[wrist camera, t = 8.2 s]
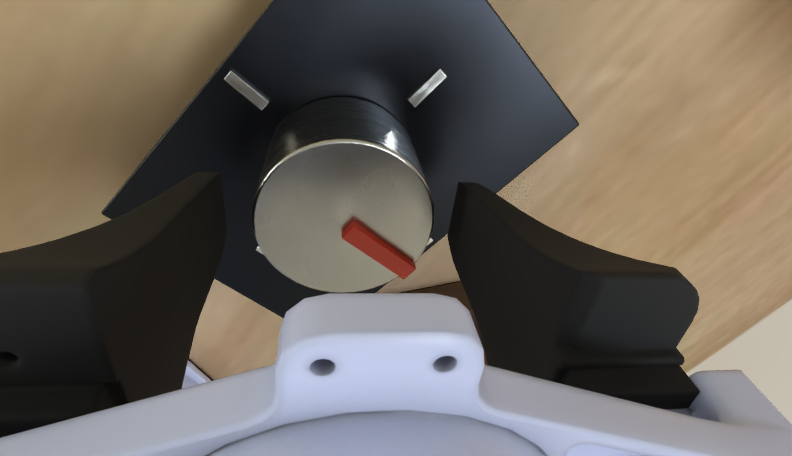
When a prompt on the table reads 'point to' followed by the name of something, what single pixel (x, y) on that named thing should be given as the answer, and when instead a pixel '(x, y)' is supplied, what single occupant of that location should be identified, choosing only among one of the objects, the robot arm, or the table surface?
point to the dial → (342, 198)
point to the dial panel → (367, 80)
